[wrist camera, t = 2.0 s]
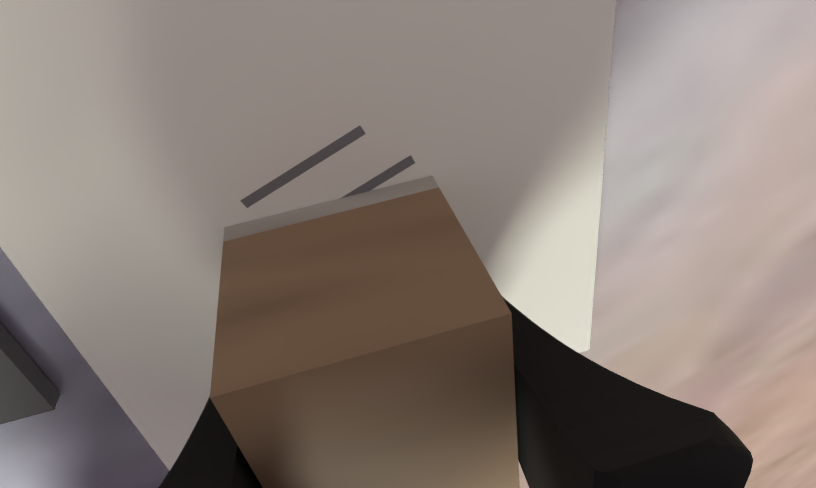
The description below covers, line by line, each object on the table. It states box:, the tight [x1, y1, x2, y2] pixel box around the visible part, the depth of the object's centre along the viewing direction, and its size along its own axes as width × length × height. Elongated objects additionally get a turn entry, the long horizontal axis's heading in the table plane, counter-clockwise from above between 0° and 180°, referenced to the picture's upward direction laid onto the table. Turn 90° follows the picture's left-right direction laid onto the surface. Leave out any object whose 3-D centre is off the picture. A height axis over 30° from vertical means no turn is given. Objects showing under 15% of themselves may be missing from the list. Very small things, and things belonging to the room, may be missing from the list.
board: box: [0, 0, 616, 471], centre depth 13 cm, size 18×14×2 cm
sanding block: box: [210, 176, 519, 488], centre depth 13 cm, size 7×5×5 cm
